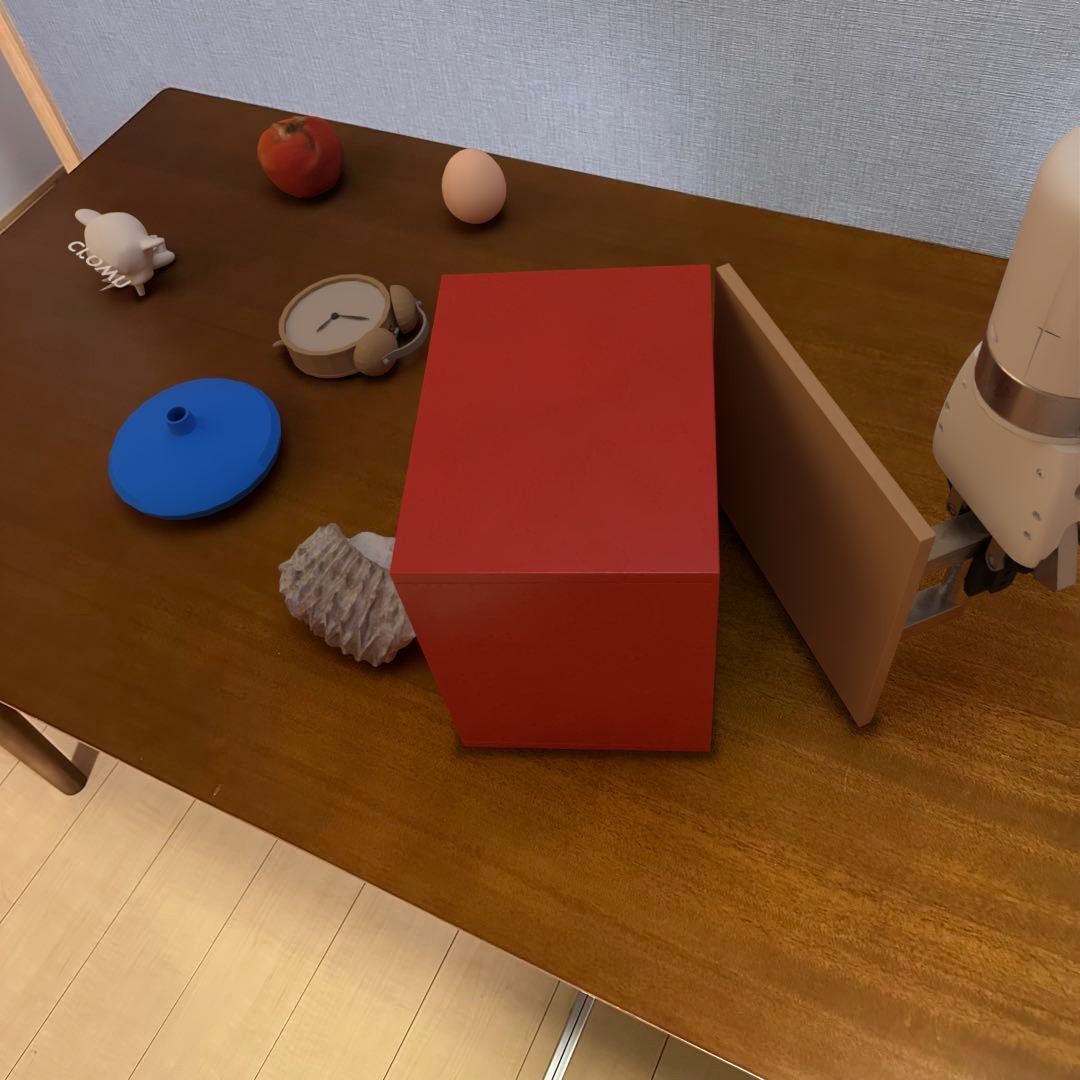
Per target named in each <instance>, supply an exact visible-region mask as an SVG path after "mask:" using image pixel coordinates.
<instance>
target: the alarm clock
mask: <svg viewBox="0 0 1080 1080" xmlns="http://www.w3.org/2000/svg"><path fill="white" fill-rule="evenodd" d="M422 306H423V304H422V301H420V300H417V298H414V295H413V294H412V293H411V291H410V290H409V289H408V288H407V287H406V286H403V285H400V284H391V285H390V287H389V291H388V289H387V288H386V286H385V284H384V283H382V282H380V281H379V280H378V279H376V278H374V277H372V276H369V275H364V274H359V273H351V274H349V273H348V274H339V275H335V276H331V277H327V278H323V279H321V280H319V281H317V282H315V283H313V284H310V285H308V286H307V287H305V288H304V289H303V290H301V291H300V292H299V293H297V294H296V295H295V296H294V297H293V298H292V299H291V300H290V301H289V302H288V303H287V305H286V306H285V307H284V308H283V311H282V313H281V315H280V317H279V320H278V334H279V336H280V338H281V339H279V340H277V341H275V342H274V343H273V344H272V347H273V348H274V349H276V348H277V349H278V348H281V347H284V346H285V347H286V349H287V352H288V353H289V356H290V358H291V359H292V362H293V363H294V365H295V367H296V368H298V369H299V370H300V371H301V372H302V373H304V374H305V375H308V376H312V377H315V378H318V379H338V378H342V377H346V376H350V375H355V374H357V373H359V372H360V373H362V374H364V375H365V376H369V377H378V376H382V375H384V374H386V373H388V372H389V371H390V370H391V369H392V368H393V367H394V365H395V363H396V362H397V360H398V359H401V358H403V357H406V356H408V355H410V354H412V353H413V352H415V351H416V350H418V349H419V348H420V346H421V345H422V344H423V343H424V341H425V340H426V339H427V337H428V333H429V328H430V325H429V321H428V318H427V316H426V314H425V312H424V311H423V310H422V308H421V307H422ZM419 316H420V317H421V318H422V319H423V322H422V326H421V329H420V331H419V332H418V334H417V335H416V336H415V337H414V338H413V339H412V341H410V342H408V343H407V344H405V345H403V346H401V347H399V343H398V340H397V339H398V335H399V333H400V331H401V333H402V334H403V335H406V334H408V333H410V332H411V331H413V330H414V329H415V327H416V325H417V323H418V318H419Z"/></svg>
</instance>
